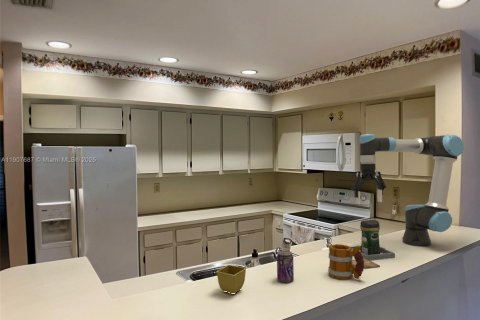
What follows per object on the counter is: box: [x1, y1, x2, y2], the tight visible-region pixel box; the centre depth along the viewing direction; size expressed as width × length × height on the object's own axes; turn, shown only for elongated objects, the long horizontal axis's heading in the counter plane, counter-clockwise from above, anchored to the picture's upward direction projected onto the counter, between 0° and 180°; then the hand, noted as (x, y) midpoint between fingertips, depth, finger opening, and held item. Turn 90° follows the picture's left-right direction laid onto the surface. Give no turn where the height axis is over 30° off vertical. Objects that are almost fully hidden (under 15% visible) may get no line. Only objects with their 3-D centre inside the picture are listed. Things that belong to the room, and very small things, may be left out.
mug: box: [327, 243, 365, 281], centre depth 142 cm, size 11×16×15 cm, turn 44°
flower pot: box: [216, 264, 247, 294], centre depth 128 cm, size 9×9×9 cm
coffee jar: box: [359, 219, 381, 255], centre depth 172 cm, size 10×8×19 cm
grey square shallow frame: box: [350, 245, 396, 261], centre depth 173 cm, size 17×17×3 cm
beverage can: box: [276, 250, 295, 283], centre depth 139 cm, size 7×7×12 cm
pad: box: [352, 258, 381, 270], centre depth 157 cm, size 11×11×1 cm
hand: (369, 202), depth 172 cm, fingers open, 13 cm apart
